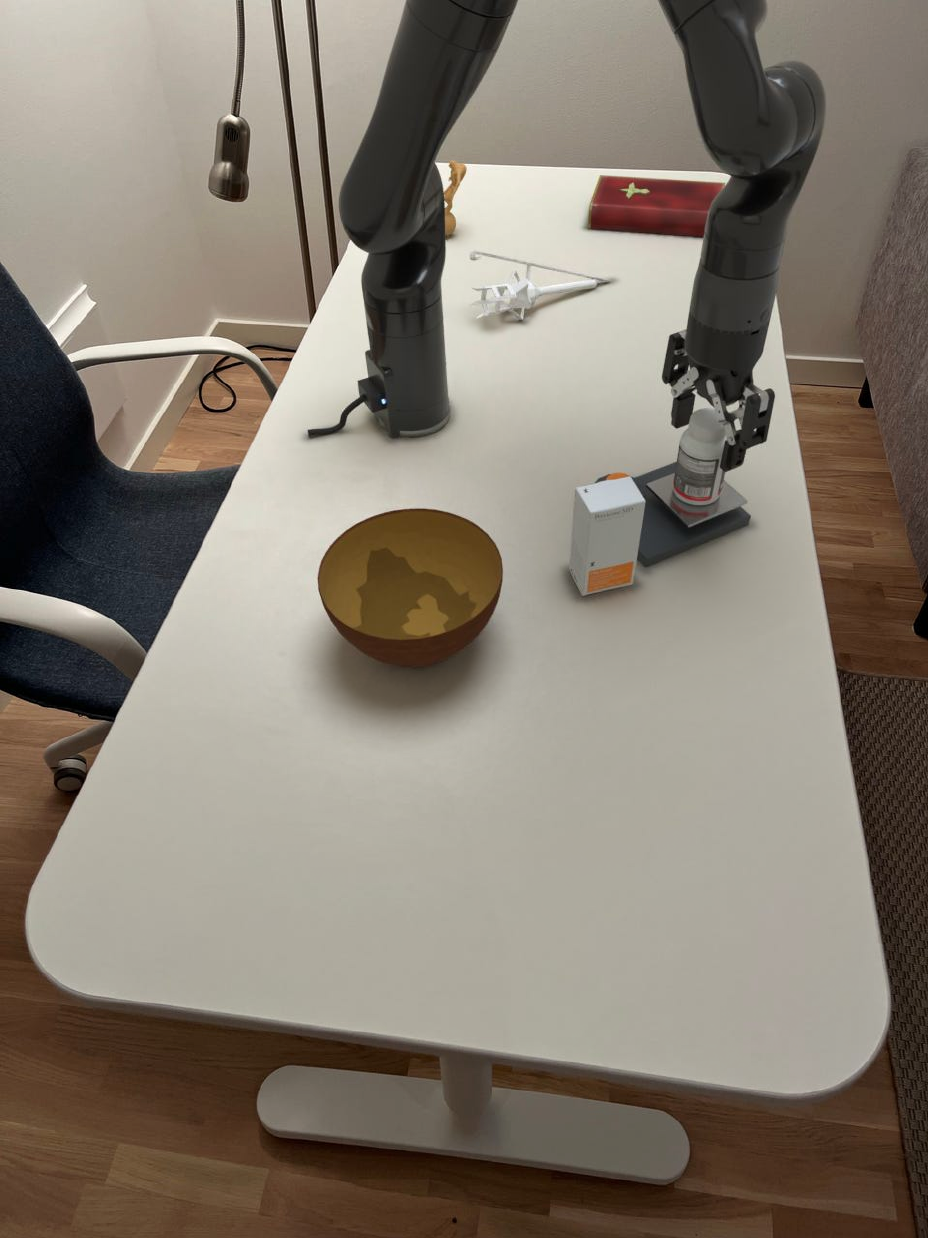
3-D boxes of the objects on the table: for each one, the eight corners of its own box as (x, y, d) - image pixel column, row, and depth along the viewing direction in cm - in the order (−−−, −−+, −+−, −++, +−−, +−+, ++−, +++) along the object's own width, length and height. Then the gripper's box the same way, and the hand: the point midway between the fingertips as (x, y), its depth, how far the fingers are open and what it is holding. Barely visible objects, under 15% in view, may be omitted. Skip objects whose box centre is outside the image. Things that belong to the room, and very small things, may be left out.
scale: (642, 569, 101) (644, 549, 99) (581, 503, 109) (582, 484, 107) (748, 524, 105) (753, 504, 103) (682, 464, 113) (686, 444, 111)
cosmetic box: (582, 598, 99) (588, 513, 90) (568, 571, 101) (573, 486, 93) (635, 585, 100) (647, 500, 91) (620, 559, 102) (630, 473, 93)
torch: (593, 342, 147) (456, 318, 134) (599, 283, 146) (461, 253, 133) (619, 339, 142) (478, 313, 129) (625, 277, 140) (484, 245, 128)
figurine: (433, 223, 158) (428, 150, 149) (468, 222, 158) (465, 148, 149) (432, 247, 153) (427, 172, 144) (469, 245, 153) (466, 170, 144)
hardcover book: (716, 238, 151) (721, 213, 147) (587, 229, 155) (589, 204, 151) (721, 206, 158) (725, 180, 155) (598, 197, 162) (600, 173, 159)
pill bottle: (694, 469, 107) (707, 397, 100) (731, 492, 104) (747, 419, 97) (661, 490, 105) (672, 418, 97) (698, 513, 102) (712, 441, 94)
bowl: (377, 561, 104) (366, 492, 96) (527, 599, 99) (528, 530, 91) (302, 679, 93) (283, 611, 85) (467, 728, 88) (462, 661, 81)
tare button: (614, 504, 104) (615, 492, 103) (599, 489, 106) (600, 477, 105) (636, 495, 105) (638, 483, 104) (621, 481, 107) (623, 469, 106)
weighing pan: (688, 527, 101) (688, 525, 101) (645, 486, 106) (645, 483, 105) (747, 503, 103) (748, 500, 103) (702, 464, 108) (703, 461, 108)
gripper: (653, 284, 91) (637, 422, 103) (747, 354, 82) (717, 495, 94) (716, 264, 93) (692, 401, 105) (814, 330, 84) (776, 471, 96)
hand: (704, 446), depth 99 cm, fingers open, 8 cm apart
